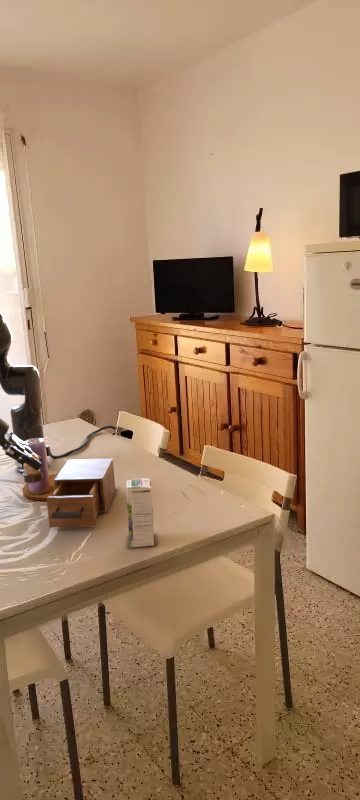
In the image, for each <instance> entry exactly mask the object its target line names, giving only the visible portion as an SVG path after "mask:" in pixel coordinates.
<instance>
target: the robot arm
mask: <svg viewBox="0 0 360 800" xmlns="http://www.w3.org/2000/svg"><path fill="white" fill-rule="evenodd" d="M12 341H13V334H12V331H11V328H10V326H9V324H8V322H7V320H6V318H5V317H4V315H3V314H2V313H1V312H0V387H1V389H2V391H3V392H4V393H5V394H6V395H8V396H24V402H23V403H21V404H18V405H15V406H13V407H12V408H11V409H10V420H11V428H12V431H11V432H10V433H8V432H9V429H10V424H9V423H8V422H7V421H4V420H3V419H2V418H0V447H1V450H2V451H3V452H4V454H5V455H6V456H8V457H9V458H11V459H13V460H14V465H15V467H16V470H17V471H18V472H19V473H23V474H24V473H25V471H24V466H23V464H24V463H26V464H28V465H29V466H31V467H32V468H33V469H35V470H39V469H40V467H41V466H42V463H41V462H39V461H41V457H39V456H38V455H37V454H36V455H37V456H38V457H39V461H38V460H36V459H35V458H34V457H32V456H31V455H30V454H29V453H34V452H32V451H31V450H30V448H29V447H28V445H27V444H26V443H24V441H26V440H28V439H32V438H42V439H44V440H45V435H44V428H43V426H44V425H43V418H42V397H41V396H42V395H41V379H40V374H39V370H38V369H37V367H36V366H34V365H13V364H12V363H11V362H10V360H9V357H8V355H9V351H10V349H11V346H12ZM106 429H112V430H114V431H115V430H117V427H115V426H114V425H105V426H103V427H101V428H98V429H96V430H94V431H92V432H90V433H89V434H88V435H87V436H86V438H85V439H84V442H83V443H82V444H81V445H80V446H78V447H76V448H73V449H72V450H69V451H67V452H66V453H63V454H60V455H54V454H53V453H52V451H51V445H50V444H49V445H47V444H45V445H46V454H47V457H50V458H51V459H59V458H64V457H68V456H69V455H71V454H73V453H76V452H78V451H80V450H83V448H84V447H86V445H87V444H88V441H89V439H90V438H91V437H92V436H94V435H96V434H97V433H99V432H102V431H104V430H106ZM34 454H35V453H34Z"/></svg>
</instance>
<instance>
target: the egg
mask: <svg viewBox="0 0 360 800" xmlns="http://www.w3.org/2000/svg"><path fill="white" fill-rule="evenodd" d="M29 454H30V455H31V456H32V457H34V458H35V459H36V460H38V461H39V457H38V456H37V455H36V454H34V453H29ZM39 462H40V461H39ZM23 466H24V471H25V473H23V475H22V476H23V482H24V483H26V484H28V483H36V482H39V481H41V480H42V479H43V477H42V471H41V470H40V469H39V470H35V469H33V468H32V467H31V466H29V465H28V464H26V463H24V464H23Z"/></svg>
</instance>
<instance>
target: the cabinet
mask: <svg viewBox="0 0 360 800" xmlns="http://www.w3.org/2000/svg"><path fill="white" fill-rule="evenodd" d="M114 467H115V466H114V458H112V457H109V458H76V459H75V458H73V459H67V461H66V462H65V464H64V465H63V467H62V468H61V470H60V471H59V473H58V474H57V475H56V477H55V478H53V481H54V491H55V490H56V488H57V487H58V485H59V484H60V482H96V481H100V492H101V503H102V506H101V508H100V510H99V512H98V514H106V513H107V511H108V508H109V506H110V503H111V502H112V499H113V497H114V494H115V492H116V481H115V470H114V469H115V468H114Z"/></svg>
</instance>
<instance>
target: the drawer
mask: <svg viewBox="0 0 360 800" xmlns="http://www.w3.org/2000/svg"><path fill="white" fill-rule="evenodd" d="M101 506H102V503H101V492H100V481H96V482H60V484H59V485H58V487H57V488H56V490H55V489H54V491H53V493H52V494H51V495H48V496H47V497H46V507H47V515H48V516H47V517H48V522H49V523H48V525H49V528H87V527H88V528H89V527H91V528H94V527H96V526H97V516H98V515H99V513H98V512H99V510H100V508H101Z"/></svg>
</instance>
